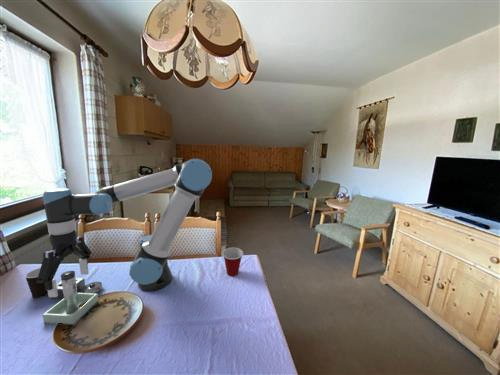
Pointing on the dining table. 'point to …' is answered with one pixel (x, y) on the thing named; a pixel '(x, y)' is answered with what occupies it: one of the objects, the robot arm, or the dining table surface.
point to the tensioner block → (79, 283)
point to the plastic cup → (232, 260)
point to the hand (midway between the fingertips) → (70, 284)
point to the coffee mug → (35, 284)
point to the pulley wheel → (92, 288)
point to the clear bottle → (70, 292)
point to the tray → (59, 313)
